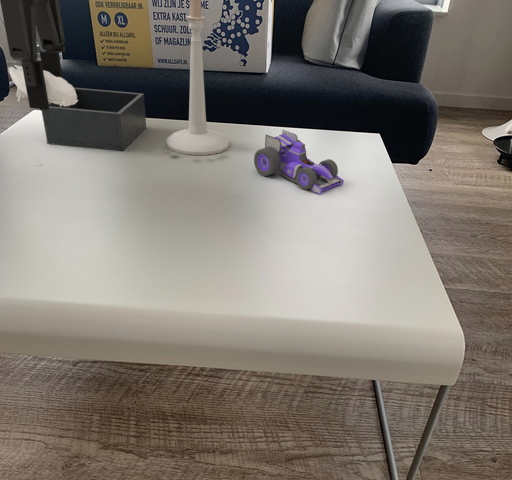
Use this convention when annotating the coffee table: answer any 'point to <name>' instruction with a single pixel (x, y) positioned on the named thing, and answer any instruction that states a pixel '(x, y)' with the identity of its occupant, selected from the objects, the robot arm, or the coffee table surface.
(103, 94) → the dark grey open box
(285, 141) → the toy race car
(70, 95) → the white lumpy piece
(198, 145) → the candlestick
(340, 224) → the coffee table surface
